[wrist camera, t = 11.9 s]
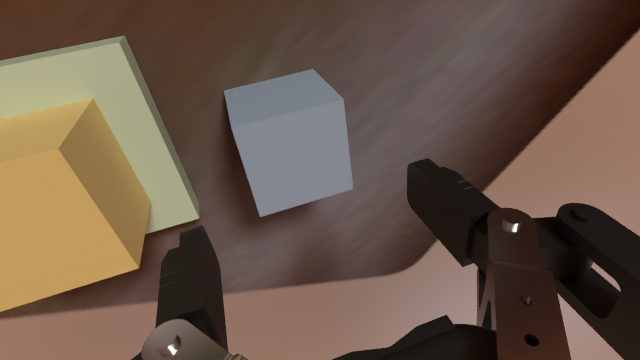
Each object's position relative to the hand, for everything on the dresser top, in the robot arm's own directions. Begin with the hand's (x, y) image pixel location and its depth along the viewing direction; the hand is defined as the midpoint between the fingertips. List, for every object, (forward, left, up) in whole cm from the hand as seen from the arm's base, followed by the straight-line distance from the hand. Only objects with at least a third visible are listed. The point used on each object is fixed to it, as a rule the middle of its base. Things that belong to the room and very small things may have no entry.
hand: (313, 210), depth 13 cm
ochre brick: (+11, -1, -7) cm, 13 cm away
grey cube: (0, 0, -9) cm, 9 cm away
